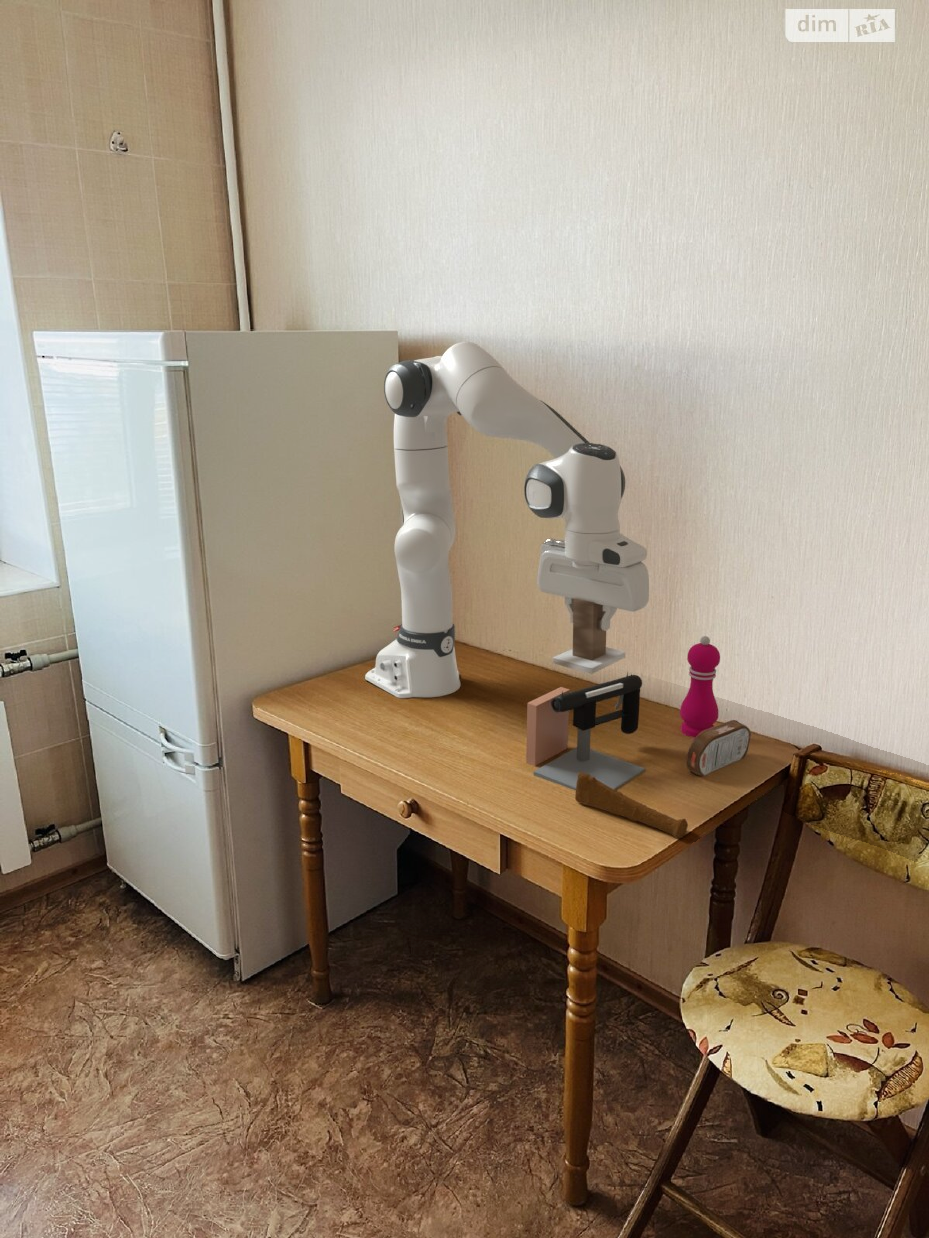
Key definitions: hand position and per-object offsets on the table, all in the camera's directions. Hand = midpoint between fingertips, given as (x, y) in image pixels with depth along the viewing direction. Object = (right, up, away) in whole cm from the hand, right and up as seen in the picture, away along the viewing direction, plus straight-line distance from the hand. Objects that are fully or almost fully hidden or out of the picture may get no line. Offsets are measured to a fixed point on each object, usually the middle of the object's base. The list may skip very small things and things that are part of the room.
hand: (589, 626), depth 155 cm
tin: (+24, -26, +10) cm, 37 cm away
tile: (-6, -24, +15) cm, 29 cm away
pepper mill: (+24, -21, +24) cm, 40 cm away
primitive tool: (+4, -33, -5) cm, 33 cm away
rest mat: (+1, -26, +8) cm, 28 cm away
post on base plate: (0, -6, +2) cm, 6 cm away
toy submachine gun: (+3, -25, +14) cm, 29 cm away
